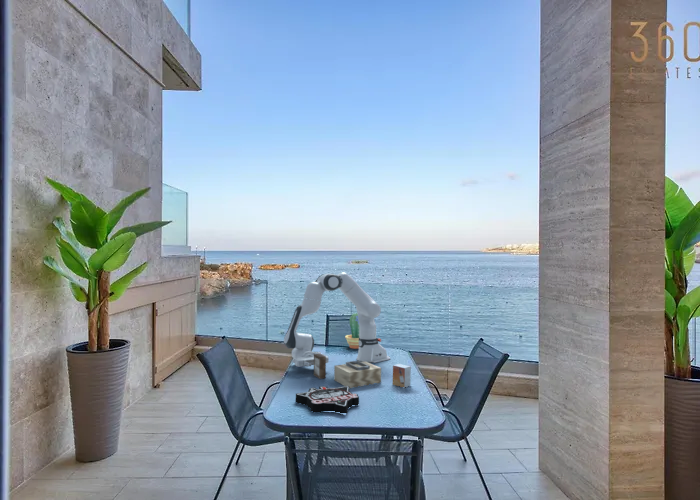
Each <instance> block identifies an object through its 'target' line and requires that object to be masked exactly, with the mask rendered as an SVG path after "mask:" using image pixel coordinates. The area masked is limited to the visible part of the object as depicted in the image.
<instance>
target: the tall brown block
mask: <svg viewBox="0 0 700 500" xmlns="http://www.w3.org/2000/svg"><path fill="white" fill-rule="evenodd" d="M321 354H322V353H321ZM321 354H314V365H313V376H314V377H316V378H317V379H320V380H322V379H326V378H327V376H326V374H327V373H326V372H327V371H326V370H327V368H326V367H327V363H326V356H327V355H326V356H324V355H325V354H324V355H321Z"/></svg>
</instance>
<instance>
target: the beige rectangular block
mask: <svg viewBox="0 0 700 500" xmlns="http://www.w3.org/2000/svg"><path fill="white" fill-rule="evenodd" d="M333 369H334V374H333V375H334V377H333V378H334V379H333V380H334V381H335V382H337V383H338V384H340V385H342V386H343V387H344V386H349V387H350V389H354V388H359V387H358V386H360V387H364V385H365V386H370V385H369V384H371V385H375V384H374V383H377V384H381V383H382V367H380V366H379V365H378V366H377V365H376V364H375V365H374V364H372V363H371V362H366V361H364V362H363V361H359V360H353V361H347V362H345V364H344V363H342V364H337V365H334V367H333ZM380 382H381V383H380ZM353 387H354V388H353Z"/></svg>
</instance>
